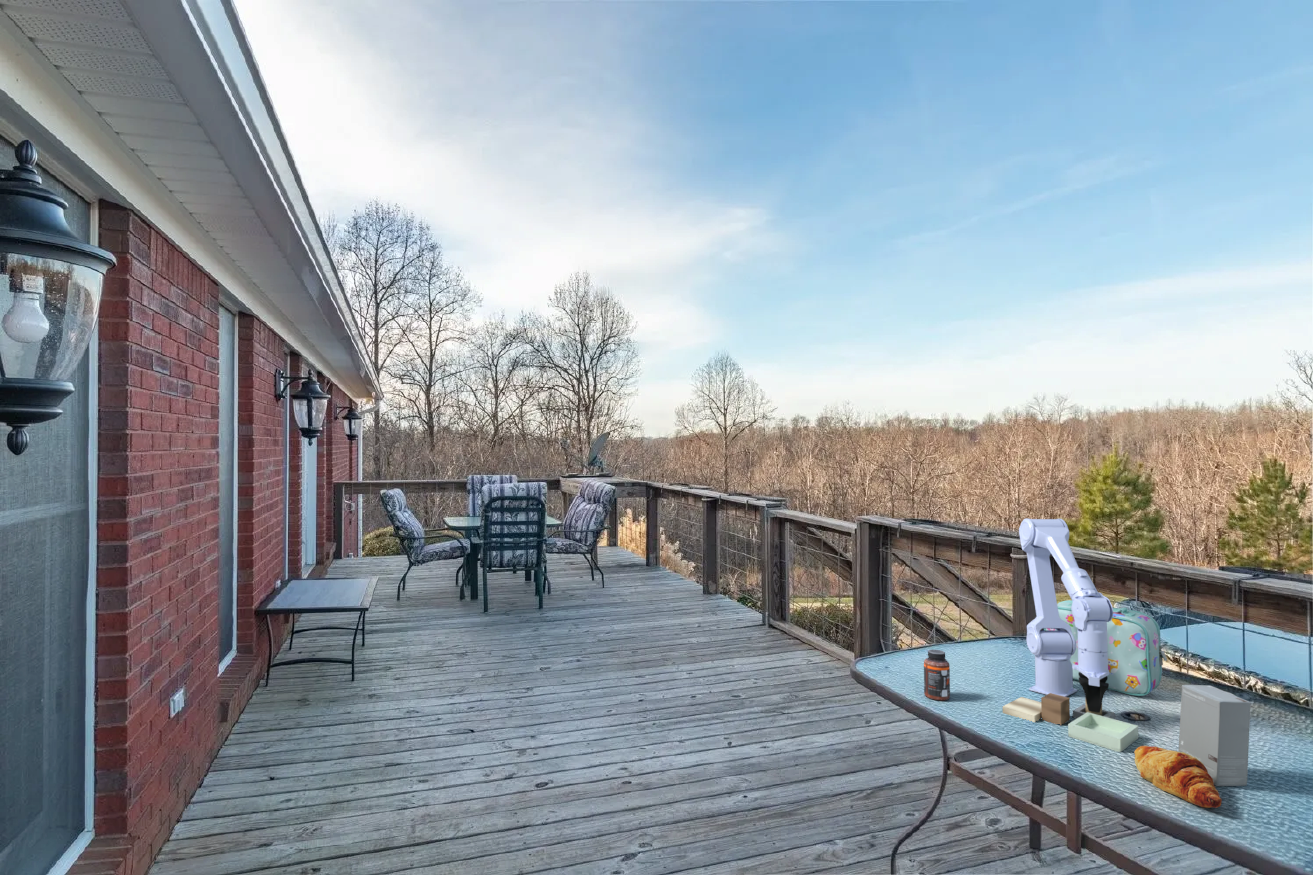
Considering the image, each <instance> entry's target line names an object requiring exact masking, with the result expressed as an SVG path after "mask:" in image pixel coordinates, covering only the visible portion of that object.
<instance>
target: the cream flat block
mask: <svg viewBox="0 0 1313 875" xmlns="http://www.w3.org/2000/svg"><path fill="white" fill-rule="evenodd" d="M1002 714H1004V715H1008V716H1012V717H1015V718H1018V717H1019V719H1021V718H1022V720H1025V719H1026V720H1025V721H1028V720H1029V721H1028V722H1031V721H1032V723H1036V721H1037V722H1038V721H1040V720H1042V719H1041V718H1042V713H1041V701H1038V700H1034V699H1031V698H1027V697H1024V696H1020V697H1018V698H1017V699H1014V700H1012V701H1010V702H1009V703H1006V704H1004V705H1003V706H1002ZM1039 719H1040V720H1039Z"/></svg>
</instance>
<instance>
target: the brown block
mask: <svg viewBox="0 0 1313 875" xmlns="http://www.w3.org/2000/svg"><path fill="white" fill-rule="evenodd" d="M1040 698H1041V700H1040V702H1041V713H1042V719H1041V721H1044V720H1045V722H1048V723H1050V722H1051V723H1050V724H1054V725H1057V724H1060V725H1059V726H1063V725H1065V724H1067V723H1068V722H1069V721H1071V717H1070V716H1071V712H1070V711H1071V710H1070V709H1071V708H1070V705H1071V703H1070V697H1069V696H1067V697H1064V696H1060V695H1056V694H1052V693H1049V694H1047V695H1046V694H1044V695H1043V696H1041V697H1040ZM1062 724H1063V725H1062Z"/></svg>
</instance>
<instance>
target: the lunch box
mask: <svg viewBox="0 0 1313 875" xmlns="http://www.w3.org/2000/svg"><path fill="white" fill-rule="evenodd" d="M1072 603H1073V601H1072V599H1071V600H1064V601H1063V600H1062V601H1059V602H1057V606H1058V612H1059V617H1060V618H1061V619H1062V620H1063V621H1065V622H1066V623H1067V624H1069V625H1070V627H1071V631H1072V634H1073V636H1074V638H1075V640H1076V651H1075V653H1074V654H1073V655H1072V656H1071V659H1069V660H1070V661H1071V663H1072V665H1073V664H1074V665H1078V628H1077V627H1076V626H1075V620H1074V616H1073V614H1072V610H1071V606H1072ZM1043 630H1053V631H1058V630H1056V629H1050V628H1043ZM1107 642H1108V670H1109V675H1108V676H1107V677H1108V679H1107V681H1106V683H1108V684H1109V687H1108V689H1107V690H1111V691H1113V692H1114V691H1115V692H1118V693H1121V694H1126V695H1130V696H1136V697H1137V696H1138V697H1144V696H1147V695H1149V694H1151V692H1152V691H1153V690H1156V689H1157V688H1158V687H1159V685H1160V683H1161V680H1162V674H1163V666H1164V662H1166V661H1168V658H1167V655H1166V654H1165V650H1163V646H1162V645H1161V628H1160V626H1159V624H1158V622H1157V621H1156V619H1154V618H1153V617H1152V616H1150V615H1148V614H1147V613H1145V612H1142V611H1138V610H1133V609H1128V608H1127V607H1126V606H1125V607H1122V608H1120V607H1113V618H1112V620H1111V621H1109V622H1107ZM1079 672H1080V671H1078V670H1074V669H1073V680H1076V681H1078V682H1079V678H1080V676H1079V674H1078V673H1079Z"/></svg>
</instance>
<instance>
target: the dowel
mask: <svg viewBox="0 0 1313 875" xmlns="http://www.w3.org/2000/svg"><path fill="white" fill-rule="evenodd" d="M1084 697H1085V696H1084ZM1084 700H1085V704H1084V705H1085V709H1086V713H1087V712H1089V713H1093V714H1097V715H1100V716H1102V710H1103V704H1102V705H1101V710H1100V713H1097V712H1092V711H1089V710H1088V707H1087V702H1086V697H1085V698H1084Z"/></svg>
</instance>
